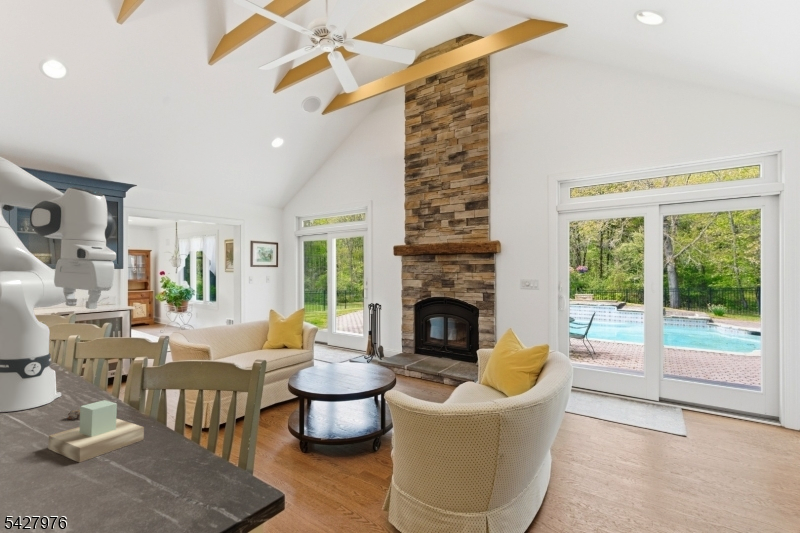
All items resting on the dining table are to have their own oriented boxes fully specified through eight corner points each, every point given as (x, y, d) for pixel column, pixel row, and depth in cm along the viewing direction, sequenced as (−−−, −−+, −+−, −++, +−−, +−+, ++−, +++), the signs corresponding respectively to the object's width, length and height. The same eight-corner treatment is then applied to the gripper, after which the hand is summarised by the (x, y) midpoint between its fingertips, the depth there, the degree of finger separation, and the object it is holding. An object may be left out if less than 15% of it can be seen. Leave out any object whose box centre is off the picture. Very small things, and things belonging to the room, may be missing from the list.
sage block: (79, 432, 90) (80, 406, 90) (103, 425, 94) (104, 400, 94) (91, 437, 88) (92, 409, 88) (115, 429, 92) (117, 403, 92)
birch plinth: (48, 449, 88) (48, 435, 88) (112, 429, 100) (112, 417, 100) (79, 462, 82) (80, 448, 82) (143, 439, 94) (144, 427, 94)
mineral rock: (114, 399, 116) (118, 398, 110) (115, 414, 115) (118, 414, 109) (67, 408, 109) (68, 407, 103) (67, 424, 108) (68, 425, 102)
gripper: (47, 251, 102) (44, 304, 101) (91, 252, 93) (88, 311, 92) (76, 252, 107) (73, 303, 107) (120, 253, 98) (117, 309, 98)
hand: (80, 307), depth 100 cm, fingers open, 8 cm apart
